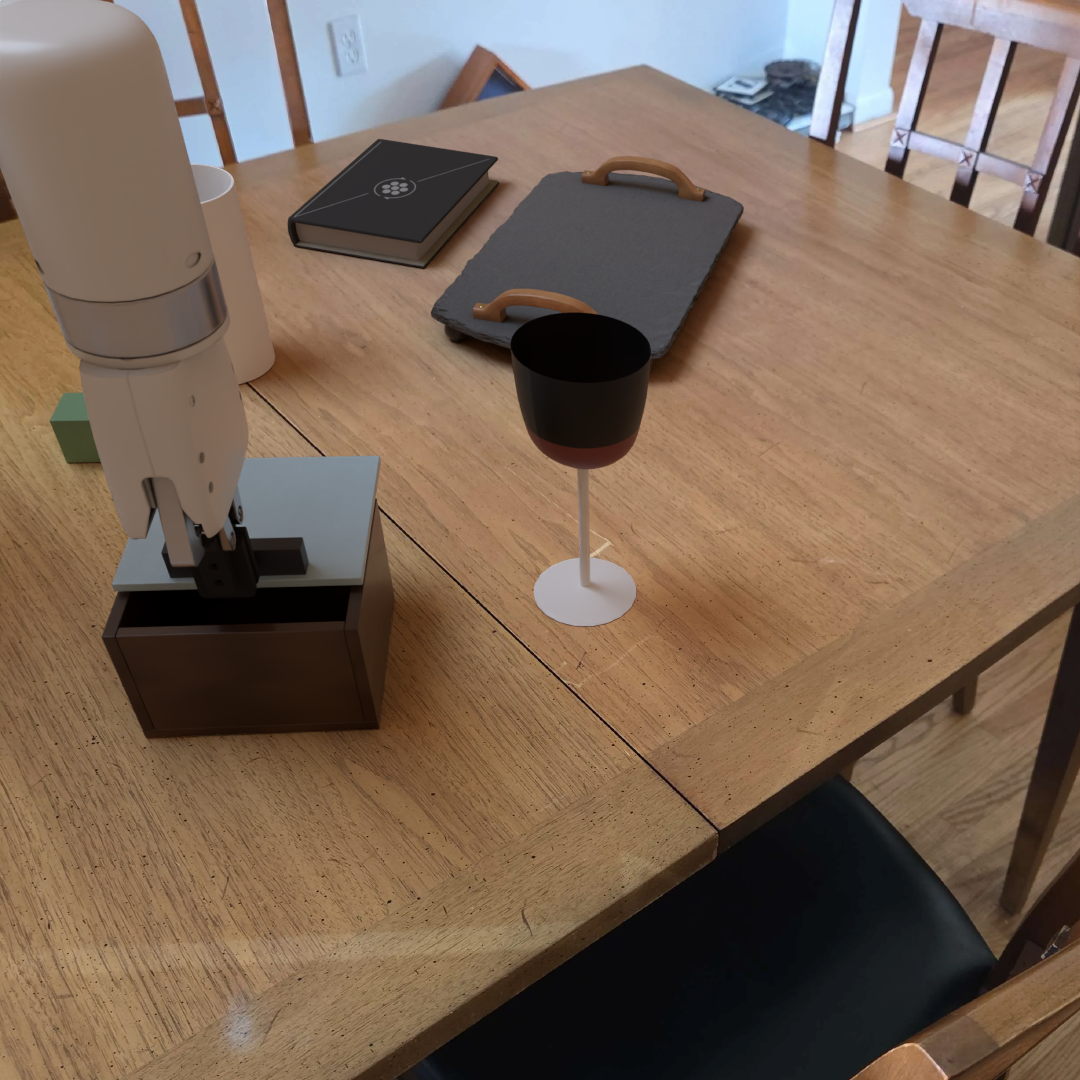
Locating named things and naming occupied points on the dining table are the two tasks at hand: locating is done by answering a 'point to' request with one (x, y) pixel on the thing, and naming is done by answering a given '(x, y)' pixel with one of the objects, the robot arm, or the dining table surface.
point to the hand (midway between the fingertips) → (231, 588)
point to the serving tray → (595, 254)
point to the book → (395, 203)
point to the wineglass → (582, 438)
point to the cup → (235, 273)
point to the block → (74, 429)
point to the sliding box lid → (281, 526)
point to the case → (257, 655)
